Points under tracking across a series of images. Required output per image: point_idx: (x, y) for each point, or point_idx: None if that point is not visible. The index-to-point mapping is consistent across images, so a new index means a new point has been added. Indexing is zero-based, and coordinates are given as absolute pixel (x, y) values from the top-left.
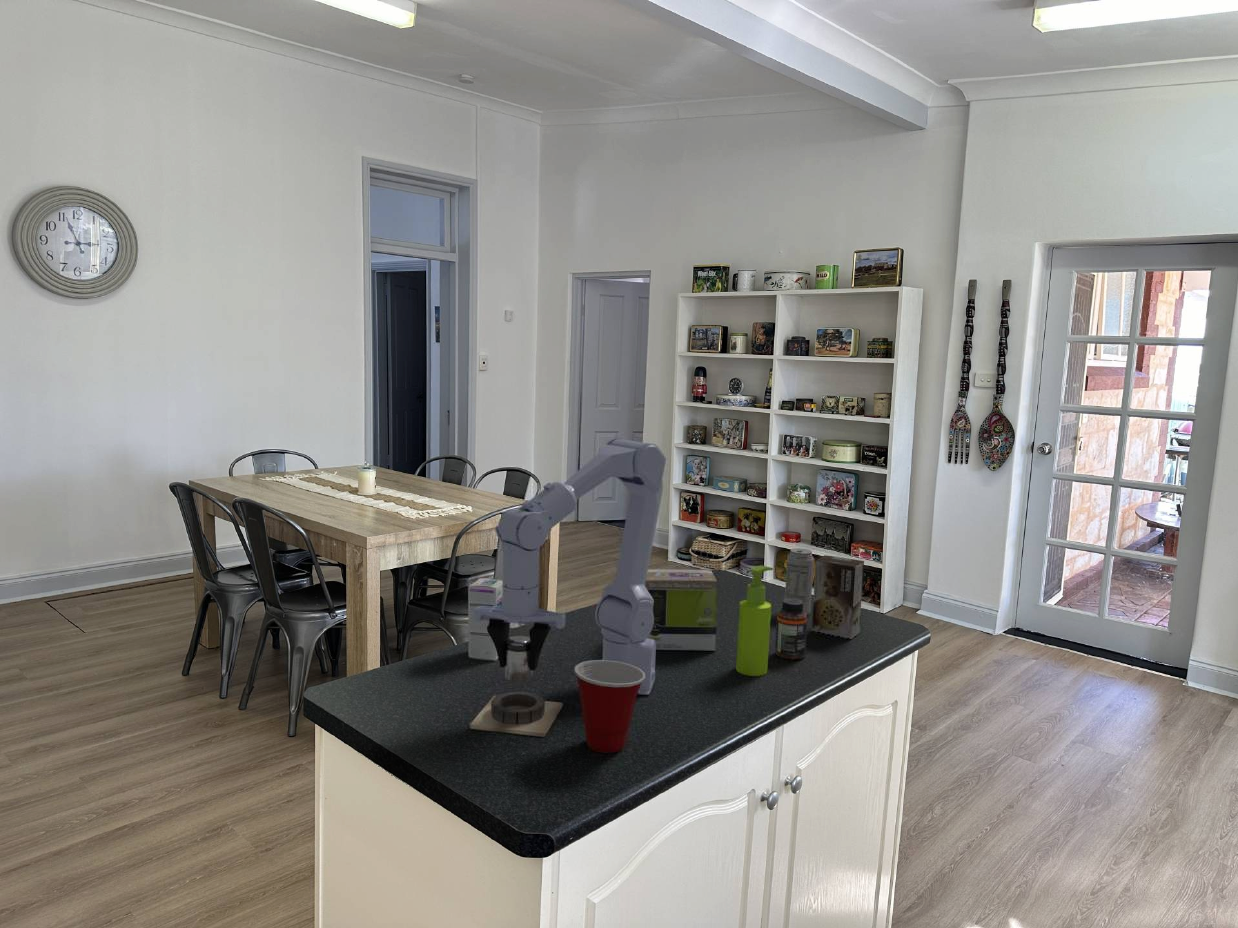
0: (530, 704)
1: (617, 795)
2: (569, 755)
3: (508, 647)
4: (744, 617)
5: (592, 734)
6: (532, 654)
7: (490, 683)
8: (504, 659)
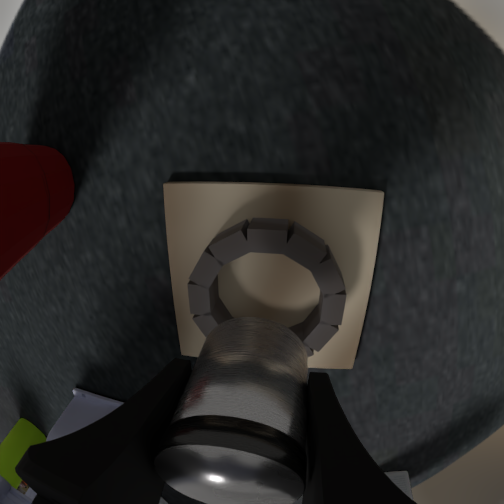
0: None
1: (15, 19)
2: (91, 108)
3: (277, 441)
4: (2, 472)
5: (31, 147)
6: (146, 401)
7: (366, 417)
8: (309, 401)
